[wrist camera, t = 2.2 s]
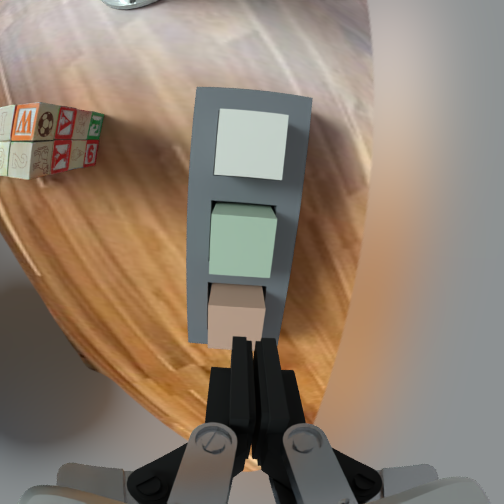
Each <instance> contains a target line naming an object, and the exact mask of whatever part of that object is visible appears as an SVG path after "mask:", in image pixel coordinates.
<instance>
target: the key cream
mask: <svg viewBox="0 0 504 504" xmlns="http://www.w3.org/2000/svg"><path fill="white" fill-rule="evenodd" d="M288 118H289V115H284V114H277V113H268V112H259V111H249V110H236V109H220V113H219V123H218V134H217V145H216V157H215V170H214V175H228V176H241V177H253V178H264V179H274V180H282V175H283V166H284V157H285V147H286V138H287V128H288Z"/></svg>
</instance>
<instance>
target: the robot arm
mask: <svg viewBox="0 0 504 504" xmlns="http://www.w3.org/2000/svg"><path fill="white" fill-rule="evenodd" d="M156 1H158V0H102V2H103V3H105V4H106V5H107V6H109V7H111V8H115V9H132V8H138V7H141V6H145V5H148V4H151V3H153V2H156ZM251 445H252V459H257V461H258V466H261V470H262V471H263V472H265V473H266V474H268V475H269V480H270V484H271V488H272V491H273V495H274V498H275V502H276V504H491V503H490V500H489V499H488V497H487V495H486V493H485V492H484V490H483V489H482V487H481V486H480V485H479V484H478V483H477V482H476V481H475V480H473V479H471V478H468V477H449V478H443V479H439V480H438V475H437V472H436V470H435V469H434V467H433V466H430V465H428V464H421V465H413V466H405V467H394V468H383V469H382V470H377V471H376V470H374V469H372V468H371V467H369V466H366V465H364V464H362V463H360V462H358V461H356V460H354V459H352V458H350V457H348V456H347V455H345V454H343V453H340V452H339V451H337V450H335V449H334V448H332V447H331V445H330V443H329V441H328V439H327V437H326V435H325V433H324V432H323V431H322V430H321V429H320V428H319V427H317V426H314V425H312V424H307V423H306V422H305V417H304V413H303V408H302V404H301V399H300V395H299V390H298V386H297V381H296V377H295V373H294V371H293V370H281V366H280V361H279V355H278V349H277V344H276V339H275V338H261V341H256V342H255V350H254V357H253V353H252V341H248V340H247V337H241V336H233V339H232V354H231V368H220V367H211V374H210V382H209V391H208V400H207V409H206V418H205V423H204V424H202V425H199V426H198V427H196V428H195V429H194V430H193V432H192V433H191V435H190V438H189V441H188V443H186V444H184V445H183V446H181V447H179V448H177V449H175V450H174V451H172V452H170V453H168V454H166V455H164V456H163V457H161V458H159V459H157V460H155V461H153V462H151V463H149V464H147V465H145V466H143V467H141V468H139V469H137V470H135V471H124V470H123V469H117V468H106V467H97V466H89V465H83V464H77V463H67V464H64V465H62V466H61V467H60V469H59V471H58V474H57V486H54V485H38V486H33V487H30V488H29V489H28V490H26V491H25V492H24V494H23V495H22V496H21V498H20V499H19V501H18V503H17V504H228V500H229V495H230V490H231V485H232V480H233V477H235V476H236V475H237V474H239V473H240V472H241V471H243V469H244V464H245V459H248V457H249V452H250V447H251Z"/></svg>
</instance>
